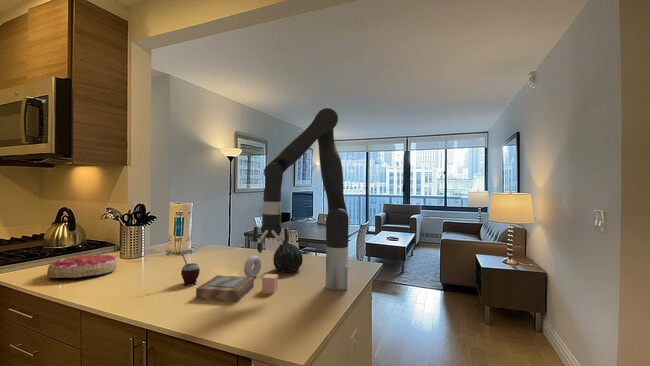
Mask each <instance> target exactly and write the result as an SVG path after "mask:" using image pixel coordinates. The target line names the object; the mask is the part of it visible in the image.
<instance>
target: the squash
mask: <svg viewBox="0 0 650 366" xmlns="http://www.w3.org/2000/svg"><path fill="white" fill-rule="evenodd" d="M279 252H280V245H279V246H278V247H277V248H276V250H275V252H274V253H273V266H274V268H275V269H276V270H277V271H278V272H282V273H287V272H288V273H293V272H294V271H296V270H299V268H300V267H301V266H302V264H303V260H304V259H303V254H302V252H301V250H300V249H299V247H298V246H295V245H294V244H291V243H290V242H288V243H285V244H284V252H283V253H282V254H280V253H279Z"/></svg>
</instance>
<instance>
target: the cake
mask: <svg viewBox="0 0 650 366" xmlns="http://www.w3.org/2000/svg"><path fill="white" fill-rule="evenodd" d="M117 261H118V260H117V258H116V257H115V256H113V255H110V254H105V255H102V254H97V255H93V254H91V255H88V256H87V255H80V256H73V257H68V258H60V259H57V260H56V261H55V262H52V263H51V264H50V265H49V266H48V268H47V272H46V277H47V278H49V279H51V280H57V279H59V278H61V279H63V278H64V279H68V278H71V279H77V278H81V277H86V278H87V277H91V276H93V277H97V276H102V275H107V274H111V273H113V272H114V271H115V270H116V269H117V263H118V262H117Z"/></svg>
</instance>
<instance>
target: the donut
mask: <svg viewBox="0 0 650 366" xmlns="http://www.w3.org/2000/svg"><path fill="white" fill-rule="evenodd" d="M261 268H262V261H261V258H260V257H259V256H257V255H251V256H249V257H247V259H246V261H245V263H244V267H243V273H244V275H245V277H254V278H256V277H257V275H259V273H260V271H261Z"/></svg>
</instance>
